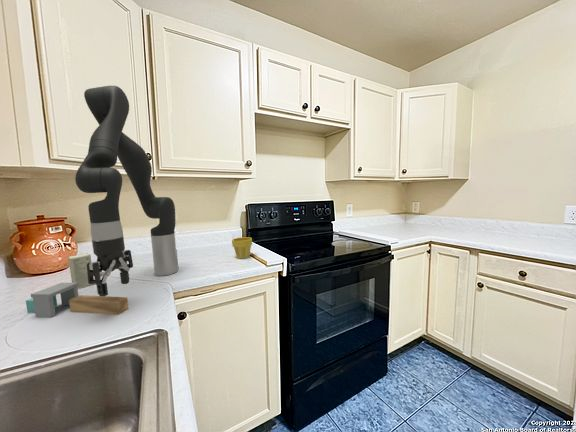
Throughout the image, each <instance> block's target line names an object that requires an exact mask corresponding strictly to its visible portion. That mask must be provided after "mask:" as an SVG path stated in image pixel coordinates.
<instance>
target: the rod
mask: <svg viewBox="0 0 576 432" xmlns="http://www.w3.org/2000/svg"><path fill="white" fill-rule="evenodd" d="M128 299H129V298H128V297H127V296H110V295H109V296H108V295H106V296H99V295H87V294H86V295H85V294H84V295H83V294H81V295H79V296H77V297H75V298H73V299H70V300H69V304H70V305H69V310H70V311H69V312H71V313H84V314H87V313H88V314H99V315H100V314H101V315H103V314H104V315H116V316H117V315H118V316H119V315H122V314H123V313H124V312H126V311H127V310H130V309H129V308H130V307H129V300H128Z"/></svg>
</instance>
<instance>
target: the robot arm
mask: <svg viewBox="0 0 576 432" xmlns="http://www.w3.org/2000/svg"><path fill="white" fill-rule="evenodd" d="M83 94H84V95H83V97H84V100H85V103H86V104H87V107H88V109H89V111H90V112H91V114H92V115H93V117H94V119H95V120H96V121H97V123H98V126H97V127H96V128H95V130H94V131H93V132H92V134H91V137H90V138H89V139H90V140H89V145H88V150H87V151H88V152H87V154H86V156H85V158H84V159H83V161H82V162H81V164H80V166H79V167H78V169H77V170H76V174H75V177H74V180H75V181H74V182H75V185H76V187H77V188H78V190H79V191H81V192H83V193H86V194H96V193H97V194H102V193H106V196H105V197H104V198H103V199H100V200H97V201H93V202H90V203H89V204H88V205H87V206H88V215H89V216H88V217H89V224H90V236H91V243H92V251H93V255H94V256H95V257H96V261H94V262H92V261H91V262H92V263H87V274H88V283H89V284H93V285H96V290H97V291H96V292H97V296H108V295H109V291H108V284H107V279H108V277H109V276H111V274H112V273H113V272H114V271H115V270H118V271H119V278H120V283H121V285H122V284H123V285H127V284H130V274H129V272H130V269H132V268H134V263H133V262H134V261H133V256H132V251H131V250H130V249H126V250H125V248H126V247H125V240H124V239H125V238H124V232H123V226H122V223H121V217H120V216H121V215H120V208H119V205H120V195H121V191H122V187H123V175H122V173H121V172H120V171H119V170H118V169H117V168H115V167H114V166H115V165H116V164H117V162H118V161H119V163H120V165H121V166H122V168H123V170H124V171H125V174H126V175H127V176H128V179H129V181H130V183H131V185H132V187H133V188H134V191H135V192H136V196H137V198H138V201H139V203H140V205H141V208H142V210H143V212H144V214H145V215H146V216H147V217H148V218H149V219H155V220H157V219H158V220H159V221H158V222H159V223H158V224H157V225H156V226H154V227H152V228H151V229H150V239H151V247H152V248H151V249H152V259H153V260H152V261H153V271H154V276H158V277H160V276H161V277H162V276H163V277H164V276H169V275H173V274H175V273H177V272H178V271H179V263H178V262H179V260H178V259H179V258H178V249H177V245H176V235H175V233H176V232H175V229H176V205H175V203H174V200H173V199H172V198H171V197H168V196H158V197H157V196H156V195H155V193H154V192H153V190H152V187H151V177H152V174H153V173H152V172H153V171H152V167H153V166H152V164H151V162H150V160H149V157H148V155H147V153H146V151H145V149H143V147H141V145H140V144H139V143H137V142H136V141H134V140H133V139H132V138H130V136H128V135H127V134H125V133H124V132H123V129H124V127H125V124H126V121H127V119H128V116H129V112H130V102H129V99H128V97H127V95H126V92H124V90H123V89H122V88H121V87H120V86H117V85H104V86H103V85H102V86H97V87H92V88H87V89H85V91H84V92H83ZM93 276H94V279H93Z"/></svg>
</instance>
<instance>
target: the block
mask: <svg viewBox="0 0 576 432" xmlns="http://www.w3.org/2000/svg"><path fill="white" fill-rule="evenodd" d="M53 302H54V308H55V307H58V301H57V295H55V296H53ZM25 303H26V310H27V313H28V314H35V309H34V303H33V298H31V297H30V298H29V299H25Z"/></svg>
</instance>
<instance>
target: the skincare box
mask: <svg viewBox="0 0 576 432" xmlns="http://www.w3.org/2000/svg"><path fill="white" fill-rule="evenodd" d="M67 258H68V265H69V271H70V272H69V273H70V278H71V283H78V285H79V286H77V288H78V289H81V288H86V287H89V286H92V285H94V284H89V283H88V274H87V263H92V255H91V253H88V252H87V253H81V254H76V255H72V256H71V255H70V256H68V257H67ZM93 279H94V280H95V277H94V276H93Z"/></svg>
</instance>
